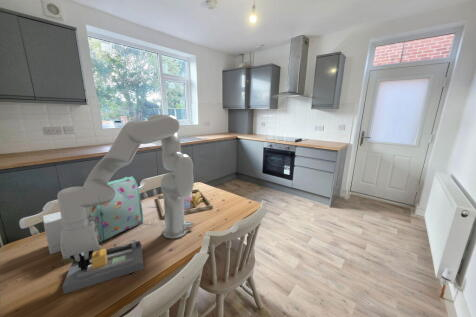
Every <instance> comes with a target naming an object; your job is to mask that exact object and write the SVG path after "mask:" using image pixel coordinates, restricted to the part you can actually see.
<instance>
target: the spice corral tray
mask: <svg viewBox="0 0 476 317" xmlns="http://www.w3.org/2000/svg"><path fill="white" fill-rule="evenodd" d="M192 192H200V193H201V196H202V198H204V200H205V201H204V202H205V203H206V205H203V206H197V207H192V208H189V209H184V216H185V215H189V214H194V213H198V212H203V211H207V210H212V209H214V208H213V207H214V206H213V204H212V202H210V201H209V199H208V197H206V196H205V195H204V194H203V192H201V190H199V189H198V188H195V189H193V190H192ZM155 198H157V199H156V201H157V202H156V203H157V204H158V205H157V206H158V208H159V212H160V216H161V218H162V220H165V213H164V211H163V208H162V204H161V201H160V199H159V198H161V199H164V198H163V194H159V195H156V197H155Z"/></svg>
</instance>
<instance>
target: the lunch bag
mask: <svg viewBox="0 0 476 317" xmlns="http://www.w3.org/2000/svg"><path fill="white" fill-rule="evenodd" d="M108 185H110V186H111V187H112V188H113V189H114V190H115V197H114V199H113V200H112V201H111V202H109V203H107V204H104V205H98V206H91V207H89V210H90V214H91V216H96V220H93V221H94V222H95V225H96V227H97V231H98V235H99V243H102V242H103V241H104V242H105V241H106V240H108V239H111V238H112V237H114V236H116V235H118V234H120V233H121V232H125V231H126V230H129V229H131V228H134V227H136V226H139V225H141V224H143V223H144V215H143V214H144V213H143V207H142V200H141V196H140V195H141V194H140V189H139V185H138V183H137V181H136V179H135V178H134V176H132V175H131V176H125V177H123V178H120V179H117V180H115V179H114V180H111V181H109V182H108Z"/></svg>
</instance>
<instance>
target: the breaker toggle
mask: <svg viewBox="0 0 476 317" xmlns="http://www.w3.org/2000/svg"><path fill="white" fill-rule="evenodd" d="M106 249H107V248H103V249H101V248H100V250H98V251H96V252H93V254H92V258H91V260H92V266H93V269H95V268H99V267H102V266H106V265H107V253H106Z"/></svg>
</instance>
